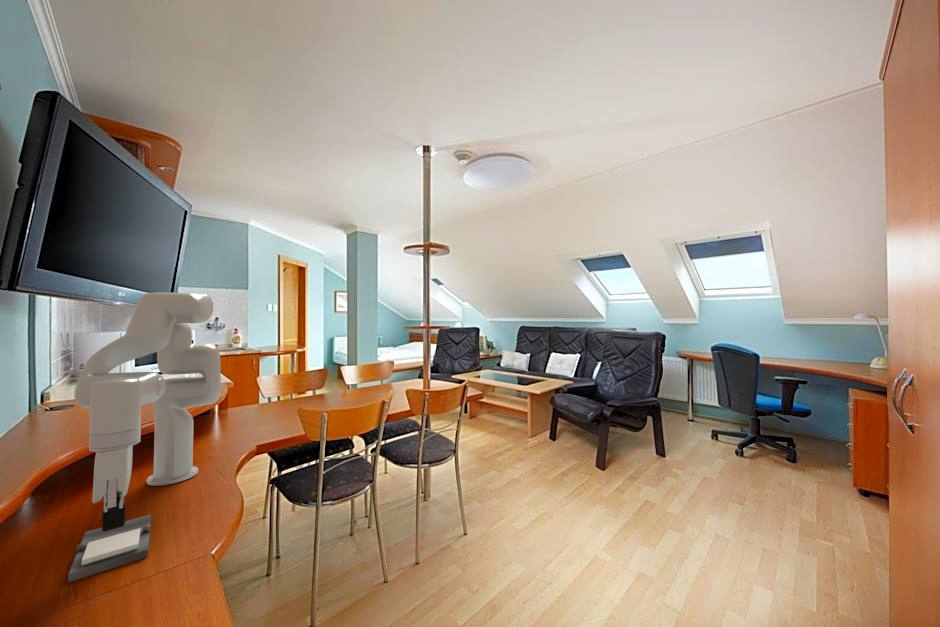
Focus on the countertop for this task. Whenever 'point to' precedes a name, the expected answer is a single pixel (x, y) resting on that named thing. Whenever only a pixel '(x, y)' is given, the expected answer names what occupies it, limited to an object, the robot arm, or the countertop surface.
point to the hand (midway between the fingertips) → (114, 527)
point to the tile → (111, 546)
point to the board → (102, 565)
